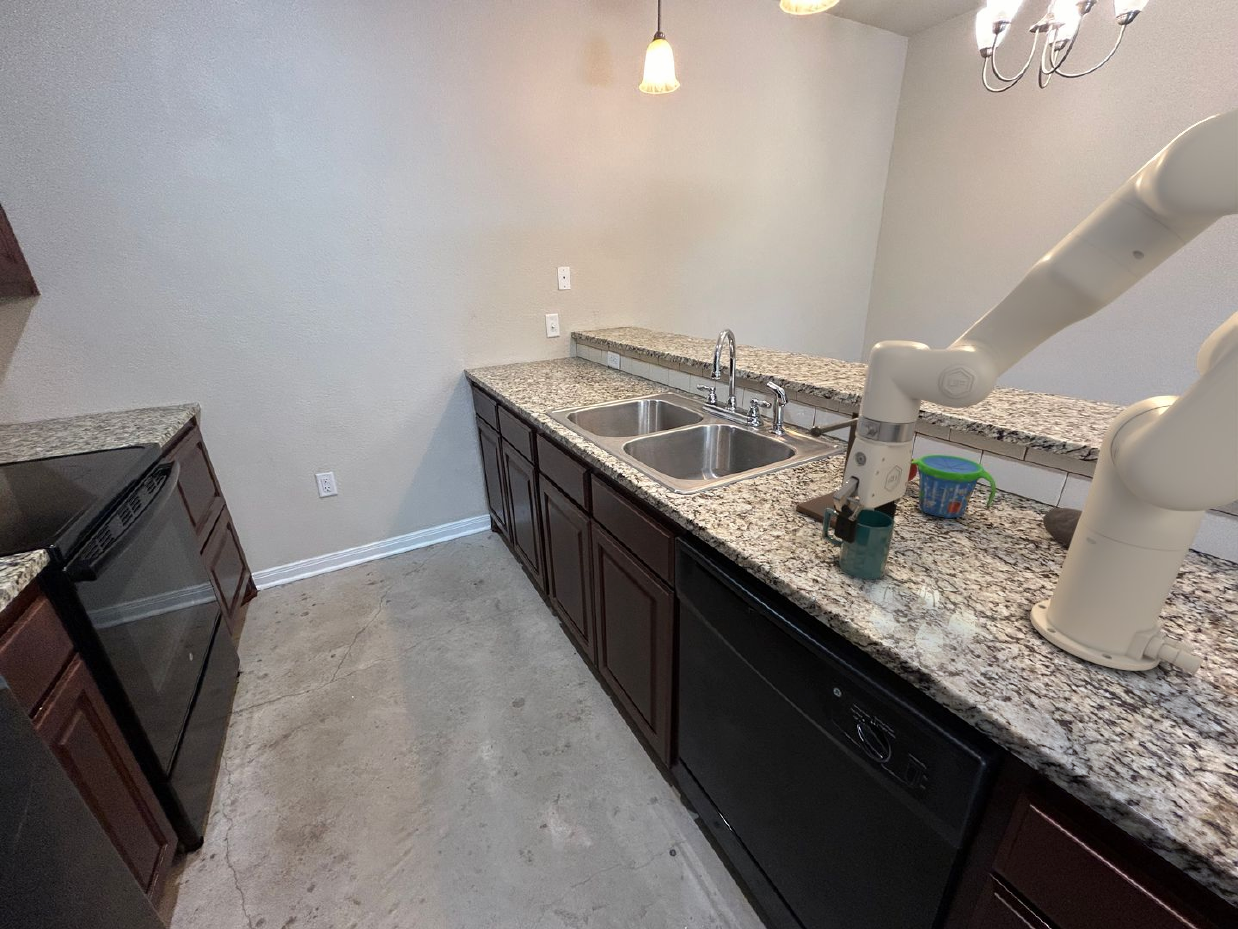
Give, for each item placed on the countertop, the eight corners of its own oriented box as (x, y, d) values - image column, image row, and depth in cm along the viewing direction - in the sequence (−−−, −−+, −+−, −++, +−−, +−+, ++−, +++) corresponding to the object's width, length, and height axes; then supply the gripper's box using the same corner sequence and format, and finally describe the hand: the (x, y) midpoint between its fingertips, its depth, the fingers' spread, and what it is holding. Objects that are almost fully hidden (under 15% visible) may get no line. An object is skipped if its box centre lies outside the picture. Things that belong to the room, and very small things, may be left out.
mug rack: (878, 513, 98) (896, 416, 91) (817, 538, 90) (832, 432, 83) (834, 496, 106) (847, 405, 99) (775, 517, 98) (785, 419, 91)
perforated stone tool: (1028, 531, 91) (1038, 496, 88) (1054, 529, 91) (1065, 494, 89) (1113, 577, 77) (1129, 538, 74) (1143, 575, 77) (1160, 535, 75)
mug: (893, 570, 80) (904, 520, 77) (867, 584, 77) (877, 532, 73) (832, 541, 89) (840, 495, 86) (807, 552, 86) (813, 505, 82)
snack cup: (887, 506, 101) (896, 459, 98) (909, 491, 108) (918, 447, 104) (975, 534, 90) (989, 482, 86) (994, 516, 96) (1008, 467, 93)
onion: (887, 488, 110) (893, 454, 107) (882, 478, 115) (888, 445, 112) (916, 491, 108) (924, 456, 105) (910, 481, 113) (917, 447, 110)
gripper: (872, 446, 65) (849, 557, 72) (943, 425, 74) (917, 527, 80) (824, 431, 71) (807, 535, 78) (894, 413, 80) (874, 509, 86)
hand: (863, 531), depth 79 cm, fingers open, 9 cm apart
